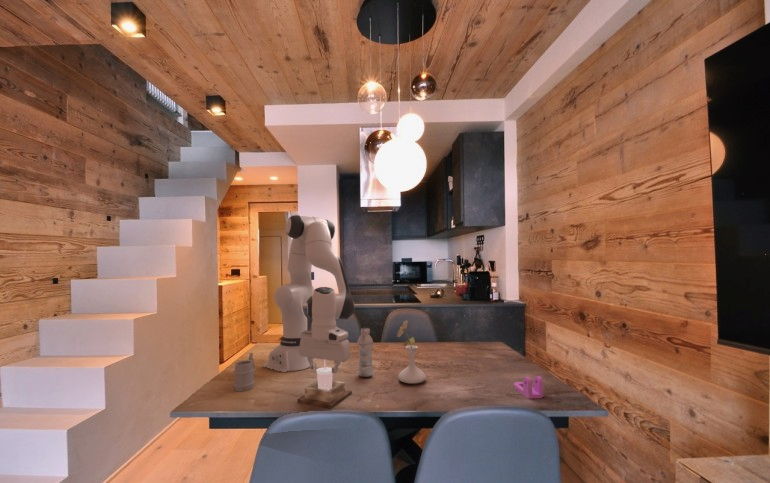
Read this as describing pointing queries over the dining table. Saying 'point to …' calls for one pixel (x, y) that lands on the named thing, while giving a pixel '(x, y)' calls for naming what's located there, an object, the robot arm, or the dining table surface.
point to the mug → (244, 374)
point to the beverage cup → (324, 377)
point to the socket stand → (325, 395)
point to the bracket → (530, 387)
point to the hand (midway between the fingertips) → (323, 371)
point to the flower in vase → (410, 361)
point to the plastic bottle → (365, 353)
